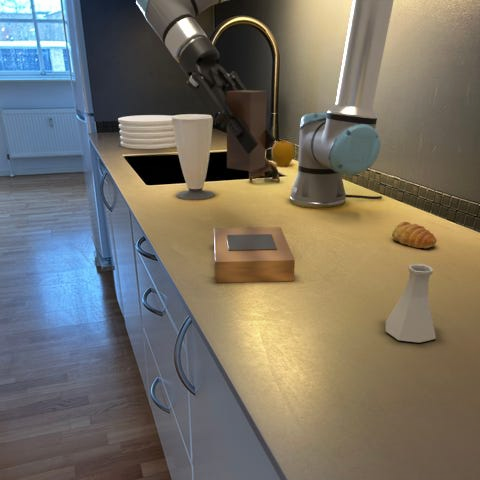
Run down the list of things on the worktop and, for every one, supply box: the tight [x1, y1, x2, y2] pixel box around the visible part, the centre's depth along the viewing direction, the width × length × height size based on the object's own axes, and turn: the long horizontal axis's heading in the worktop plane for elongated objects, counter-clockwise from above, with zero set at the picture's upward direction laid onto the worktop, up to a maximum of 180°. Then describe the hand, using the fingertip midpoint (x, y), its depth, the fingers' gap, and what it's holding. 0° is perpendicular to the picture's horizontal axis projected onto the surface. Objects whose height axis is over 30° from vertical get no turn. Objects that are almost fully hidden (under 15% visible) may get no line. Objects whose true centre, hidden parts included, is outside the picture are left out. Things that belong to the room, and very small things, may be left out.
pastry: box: [391, 221, 438, 249], centre depth 109 cm, size 9×7×4 cm
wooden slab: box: [213, 226, 296, 284], centre depth 99 cm, size 14×20×4 cm
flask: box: [384, 263, 437, 343], centre depth 72 cm, size 7×7×10 cm
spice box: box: [226, 89, 268, 172], centre depth 99 cm, size 6×6×14 cm
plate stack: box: [117, 114, 177, 150], centre depth 236 cm, size 28×28×12 cm
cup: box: [172, 113, 216, 201], centre depth 144 cm, size 12×12×22 cm
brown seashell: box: [248, 157, 281, 184], centre depth 165 cm, size 12×10×8 cm
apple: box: [270, 140, 295, 167], centre depth 189 cm, size 9×8×9 cm
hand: (261, 146), depth 99 cm, fingers closed on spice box, 5 cm apart
